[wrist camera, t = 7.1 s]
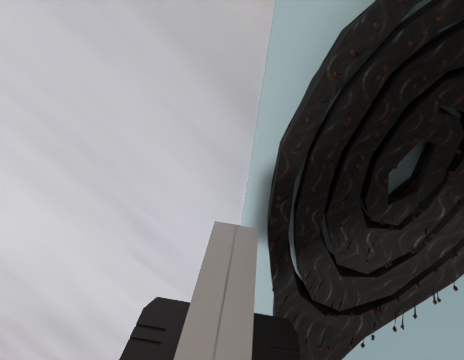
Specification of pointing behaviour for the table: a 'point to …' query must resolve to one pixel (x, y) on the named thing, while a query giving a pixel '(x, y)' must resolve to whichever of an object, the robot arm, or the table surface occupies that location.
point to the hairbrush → (372, 178)
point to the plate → (263, 164)
